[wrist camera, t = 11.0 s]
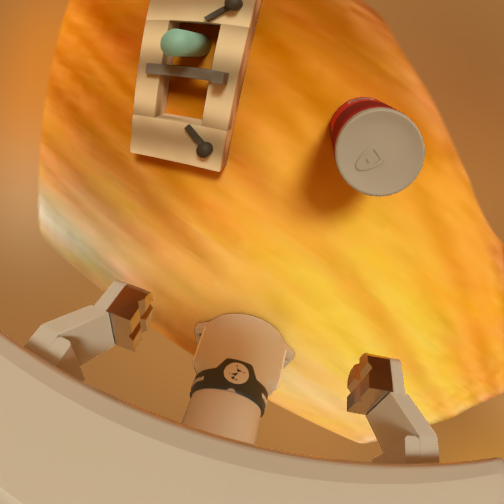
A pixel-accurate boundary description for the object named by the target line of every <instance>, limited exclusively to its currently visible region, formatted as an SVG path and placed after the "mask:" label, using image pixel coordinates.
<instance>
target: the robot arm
mask: <svg viewBox="0 0 504 504" xmlns="http://www.w3.org/2000/svg"><path fill="white" fill-rule="evenodd" d="M152 301H153V294H152V293H151V292H148V291H146V290H143V289H141V288H138V287H135V286H133V285H130V284H127V283H125V282H122V281H120V280H116V281H114V282H113V283H112V284H111V285H110V287H109V288H108V289H107V290H106V292H105V293H104V294H103V295H102V297H101V298H100V299H99V300H98V302H97V303H96V304H95V305H94V306H92V305H89V306H87V307H84V308H82V309H79V310H77V311H74V312H72V313H69V314H67V315H64V316H62V317H59V318H57V319H54V320H52V321H49V322H47V323H44V324H42V325H41V326H40V327H39V328H38V330H37V331H36V332H35V333H34V335H33V336H32V337H31V338H30V340H29V341H28V342H27V343H26V345H25V346H22V345H20V344H19V343H18V342H16V341H15V340H13V339H12V338H10V337H9V336H7V335H6V334H4V333H3V332H2V331H0V504H504V460H503V459H502V458H489V459H481V460H472V461H462V462H447V463H440V462H439V450H438V440H437V435H436V434H435V432H434V431H433V429H432V428H431V426H430V425H429V423H428V422H427V421H426V419H425V418H424V416H423V415H422V413H421V412H420V411H419V409H418V408H417V406H416V405H415V404H414V402H413V401H412V399H411V398H410V397H409V395H408V394H405V389H404V381H403V374H402V367H401V362H400V360H398V359H393V358H387V357H383V356H378V355H373V354H368V353H364V354H363V355H362V356H361V357H360V363H359V364H356V365H354V367H353V368H352V369H351V371H350V374H349V377H348V385H347V388H348V389H349V391H350V392H351V393H350V395H349V396H348V397H347V412H353V413H358V414H364V415H366V417H367V419H368V422H369V424H370V426H371V428H372V430H373V432H374V434H375V436H376V438H377V440H378V442H379V444H380V446H381V448H382V450H383V453H381V454H379V455H378V456H376V457H375V458H373V459H372V462H360V461H349V460H339V459H331V458H323V457H316V456H309V455H304V454H298V453H292V452H287V451H282V450H276V449H271V448H267V447H263V446H258V445H255V444H256V437H257V431H258V426H259V421H260V418H261V417H262V416H263V414H264V411H265V409H266V406H267V398H268V396H269V395H271V394H272V392H273V391H274V390H276V389H277V388H278V386H279V384H280V379H281V375H282V370H283V368H284V367H285V366H286V365H287V364H288V363H289V362H290V361H291V360H292V359H293V358H294V355H295V352H294V350H293V349H292V348H290V347H289V346H288V345H287V344H286V343H285V341H284V339H283V337H282V335H281V334H280V333H279V331H278V330H277V329H276V328H275V327H273V326H272V325H271V324H269V323H268V322H266V321H264V320H262V319H260V318H257V317H254V316H251V315H246V314H225V315H221V316H219V317H216V318H215V319H213V320H211V321H209V322H201V323H197V324H196V325H195V328H194V332H195V338H196V343H197V349H196V352H195V355H194V357H193V361H192V363H193V364H194V369H195V371H196V374H197V376H196V378H195V380H194V382H193V384H192V387H191V392H190V398H191V399H190V402H189V405H188V407H187V410H186V413H185V416H184V418H183V421H182V423H179V422H176V421H173V420H170V419H167V418H165V417H162V416H160V415H157V414H154V413H152V412H149V411H147V410H144V409H142V408H139V407H137V406H134V405H132V404H130V403H127V402H125V401H123V400H121V399H119V398H116V397H114V396H112V395H110V394H108V393H106V392H104V391H102V390H99V389H97V388H95V387H93V386H91V385H89V384H87V383H85V382H84V380H85V379H84V375H83V373H82V371H81V368H80V366H81V365H82V364H84V363H86V362H87V361H89V360H91V359H93V358H94V357H96V356H98V355H99V354H101V353H103V352H105V351H106V350H108V349H110V348H111V347H113V346H115V344H116V345H119V346H121V347H124V348H126V349H129V350H132V351H135V349H136V348H137V346H138V345H139V343H140V341H141V340H142V336H141V333H143V332H145V331H147V329H148V328H149V326H150V323H151V320H152V317H153V307H152V306H151V302H152Z"/></svg>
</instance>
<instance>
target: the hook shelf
mask: <svg viewBox="0 0 504 504" xmlns="http://www.w3.org/2000/svg"><path fill="white" fill-rule="evenodd" d="M261 3H262V0H150V4H149V9H148V13H147V18H146V23H145V29H144V34H143V40H142V46H141V52H140V59H139V66H138V73H137V81H136V89H135V99H134V109H133V120H132V133H131V150H130V152H131V153H136V154H141V155H146V156H151V157H156V158H161V159H165V160H170V161H174V162H179V163H183V164H188V165H192V166H196V167H200V168H205V169H209V170H213V171H217V172H220V171H221V170H222V169H223V168H224V167H225V165H226V164H227V159H228V154H229V149H230V143H231V138H232V133H233V128H234V123H235V118H236V113H237V108H238V104H239V99H240V94H241V89H242V85H243V80H244V75H245V71H246V66H247V62H248V57H249V53H250V49H251V44H252V40H253V36H254V32H255V27H256V23H257V19H258V15H259V11H260V7H261ZM180 23H194V24H206V25H216V26H221V27H220V31H219V36H218V40H217V45H216V50H215V54H214V59H213V64H212V69H211V70H210V69H203V68H196V67H188V66H179V65H173V59H174V57H171V56H167V55H166V54H164V53H163V51H162V50H161V47H160V42H161V38H162V36H163V35H164V34H165V33H166V32H167V31H169V30H171V29H179V27H180ZM171 76H179V77H187V78H194V79H201V80H208V81H209V85H208V91H207V96H206V102H205V108H204V114H203V120H201V119H196V118H190V117H185V116H179V115H173V114H167V113H165V112H166V105H167V97H168V90H169V83H170V77H171Z"/></svg>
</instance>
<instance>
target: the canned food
mask: <svg viewBox="0 0 504 504" xmlns="http://www.w3.org/2000/svg"><path fill="white" fill-rule="evenodd" d="M330 134H331V140H332V146H333V152H334V157H335V162H336V165H337V167H338V170H339V172H340V174H341V175H342V177H343V179H344V180H345V181H346V182H347V183H348V184H349V185H350V186H351V187H352V188H354V189H355V190H357V191H359V192H361V193H363V194H366V195H370V196H388V195H392V194H395V193H398V192H399V191H401V190H403V189H405V188H406V187H407V186H409V185H410V184H411V183H412V182H413V181H414V180H415V179H416V177H417V176H418V174H419V172H420V171H421V168H422V165H423V162H424V156H425V147H424V142H423V138H422V135H421V133H420V131H419V129H418V128H417V127H416V125H415V124H414V123H413V122H412V120H410V119H409V118H408V117H407V116H406V115H404V114H403V113H401V112H400V111H398V110H396V109H394V108H392V107H390V106H388V105H386V104H384V103H382V102H380V101H378V100H376V99H373V98H368V97H360V98H355V99H351V100H349V101H347V102H345V103H344V104H343V105H342V106H340V107H339V108H338V110H337V111H336V112H335V114H334V116H333V118H332V121H331V125H330Z"/></svg>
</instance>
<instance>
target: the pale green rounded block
mask: <svg viewBox="0 0 504 504" xmlns="http://www.w3.org/2000/svg"><path fill="white" fill-rule="evenodd" d="M160 47H161V50H162V51H163V53H164V54H166V55H167V56H171V57H202V56H205V55H206V54H207V53H208V52H209V51H210V49H211V40H210V38H209V37H208V36H206V35H204V34H200V33H196V32H192V31H187V30H182V29H171V30H169V31H167V32H166V33H165V34H164V35H163V36H162V38H161V42H160Z"/></svg>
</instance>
